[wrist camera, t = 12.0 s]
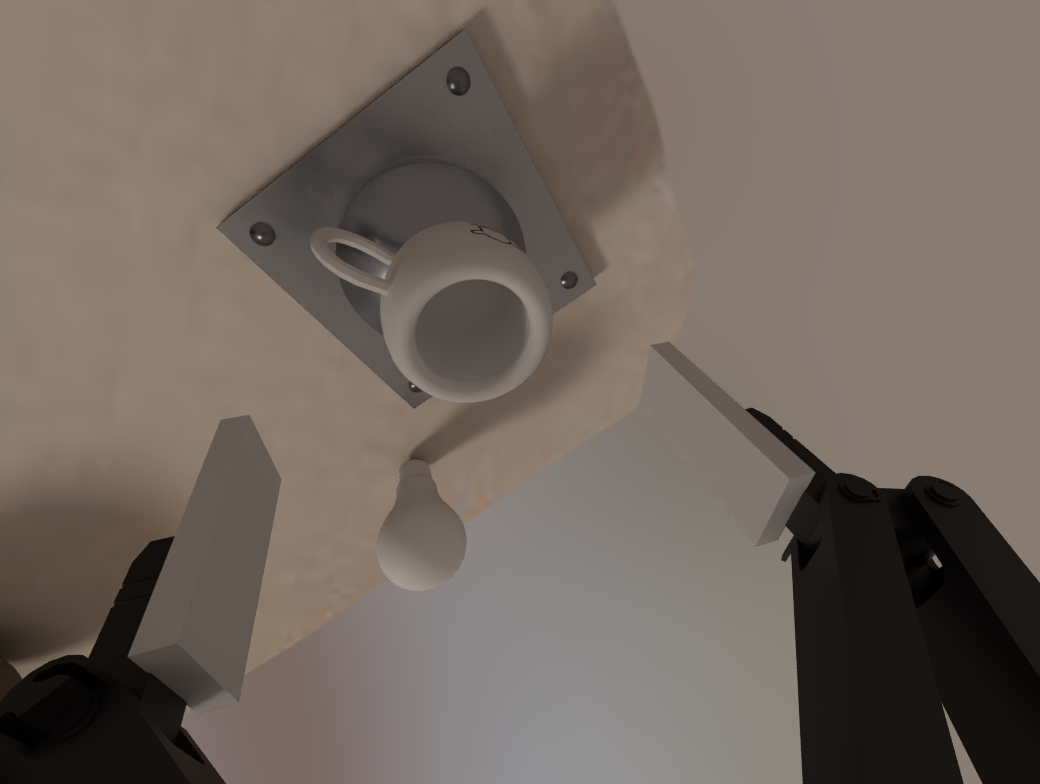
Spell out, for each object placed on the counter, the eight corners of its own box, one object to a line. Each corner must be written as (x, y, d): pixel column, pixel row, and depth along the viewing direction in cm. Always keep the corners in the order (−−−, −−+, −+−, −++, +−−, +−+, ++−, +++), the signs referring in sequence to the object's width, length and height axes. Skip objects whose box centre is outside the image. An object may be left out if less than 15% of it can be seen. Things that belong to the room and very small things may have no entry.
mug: (544, 246, 27) (595, 297, 21) (480, 357, 30) (508, 429, 24) (345, 134, 21) (335, 161, 15) (293, 287, 25) (267, 359, 18)
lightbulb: (450, 484, 40) (472, 599, 31) (379, 494, 38) (381, 618, 29) (449, 432, 36) (474, 545, 28) (371, 440, 34) (372, 563, 26)
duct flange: (220, 223, 24) (209, 234, 22) (462, 29, 22) (469, 26, 20) (413, 402, 33) (415, 418, 32) (591, 280, 31) (603, 291, 30)
